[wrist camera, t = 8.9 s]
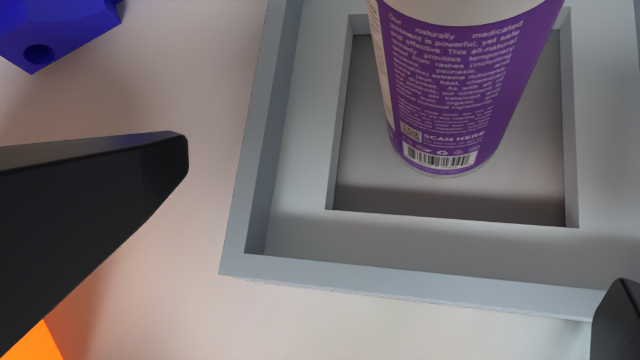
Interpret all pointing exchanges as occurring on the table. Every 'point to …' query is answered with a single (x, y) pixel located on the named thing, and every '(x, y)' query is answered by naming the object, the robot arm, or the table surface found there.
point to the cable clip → (51, 28)
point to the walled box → (424, 232)
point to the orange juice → (35, 346)
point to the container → (454, 74)
